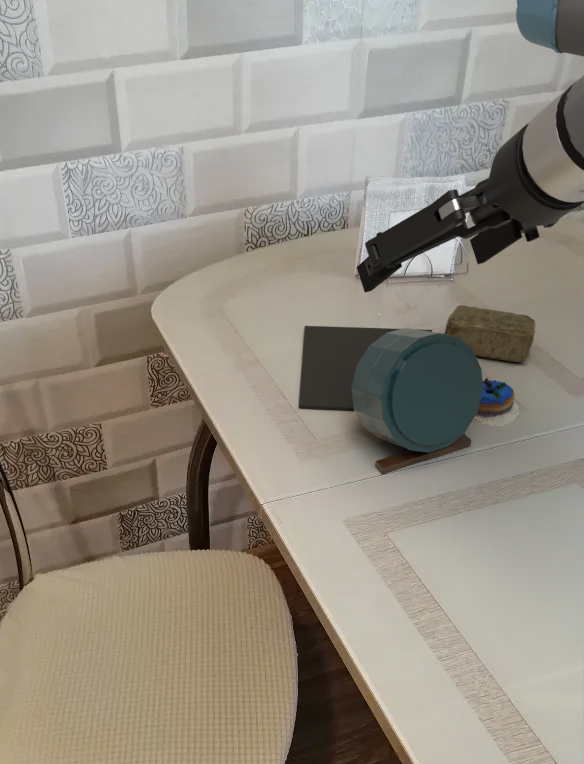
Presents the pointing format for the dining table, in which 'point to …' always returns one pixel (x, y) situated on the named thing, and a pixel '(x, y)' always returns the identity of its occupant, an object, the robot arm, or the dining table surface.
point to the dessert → (497, 404)
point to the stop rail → (419, 456)
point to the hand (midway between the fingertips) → (421, 265)
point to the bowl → (417, 389)
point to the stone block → (493, 332)
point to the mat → (333, 364)
